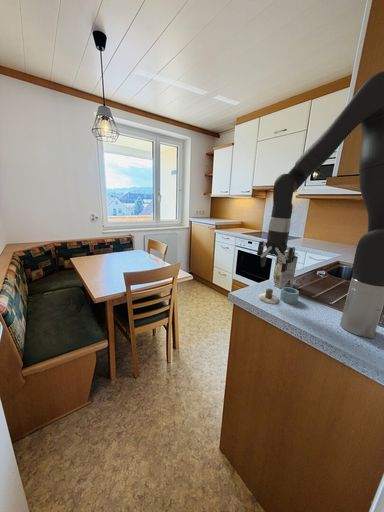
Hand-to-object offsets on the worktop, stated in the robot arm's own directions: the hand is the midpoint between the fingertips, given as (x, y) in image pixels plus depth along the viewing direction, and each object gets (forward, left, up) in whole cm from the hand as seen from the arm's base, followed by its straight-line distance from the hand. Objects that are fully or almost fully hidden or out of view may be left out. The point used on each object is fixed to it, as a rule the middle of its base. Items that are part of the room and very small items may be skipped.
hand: (272, 269), depth 86 cm
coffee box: (+3, -20, -14) cm, 24 cm away
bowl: (-6, -6, -13) cm, 16 cm away
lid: (0, 0, -14) cm, 14 cm away
